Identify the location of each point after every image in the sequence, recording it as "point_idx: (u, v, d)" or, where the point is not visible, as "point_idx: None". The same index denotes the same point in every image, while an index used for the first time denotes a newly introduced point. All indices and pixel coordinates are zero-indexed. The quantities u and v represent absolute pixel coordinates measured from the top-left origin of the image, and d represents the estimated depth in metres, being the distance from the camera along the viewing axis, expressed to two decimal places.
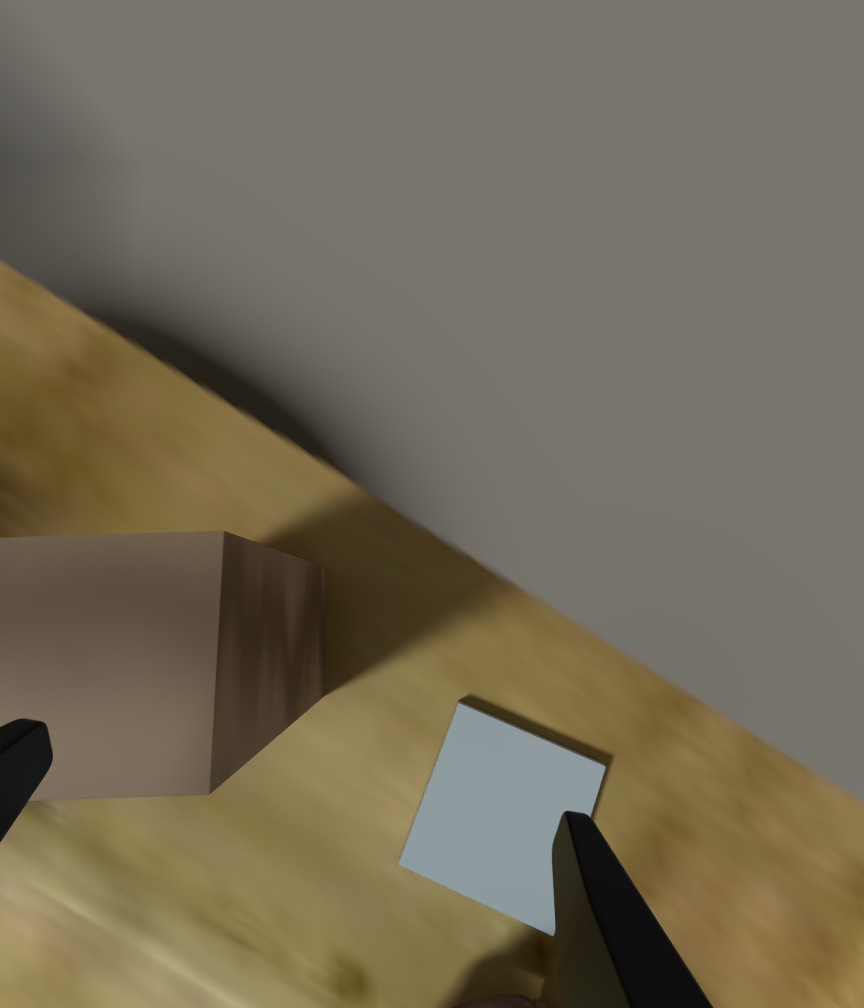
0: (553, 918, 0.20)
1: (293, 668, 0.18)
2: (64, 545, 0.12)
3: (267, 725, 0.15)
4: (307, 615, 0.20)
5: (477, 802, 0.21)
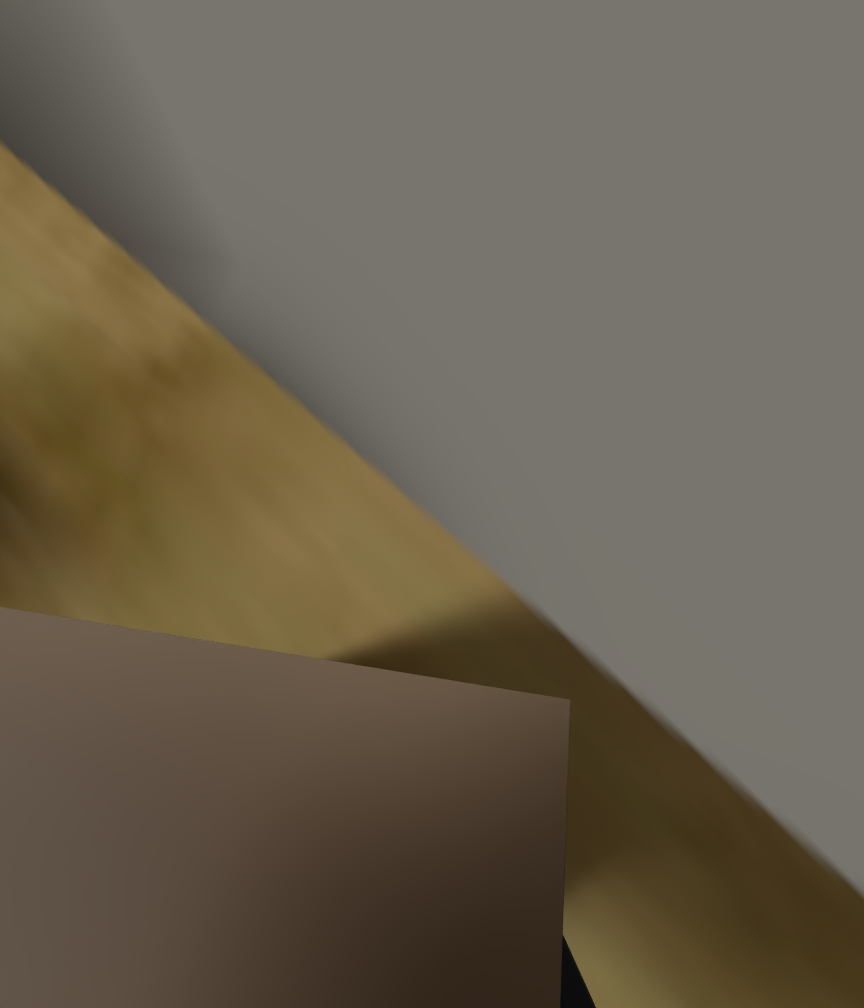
0: None
1: None
2: (90, 653, 0.04)
3: None
4: None
5: None
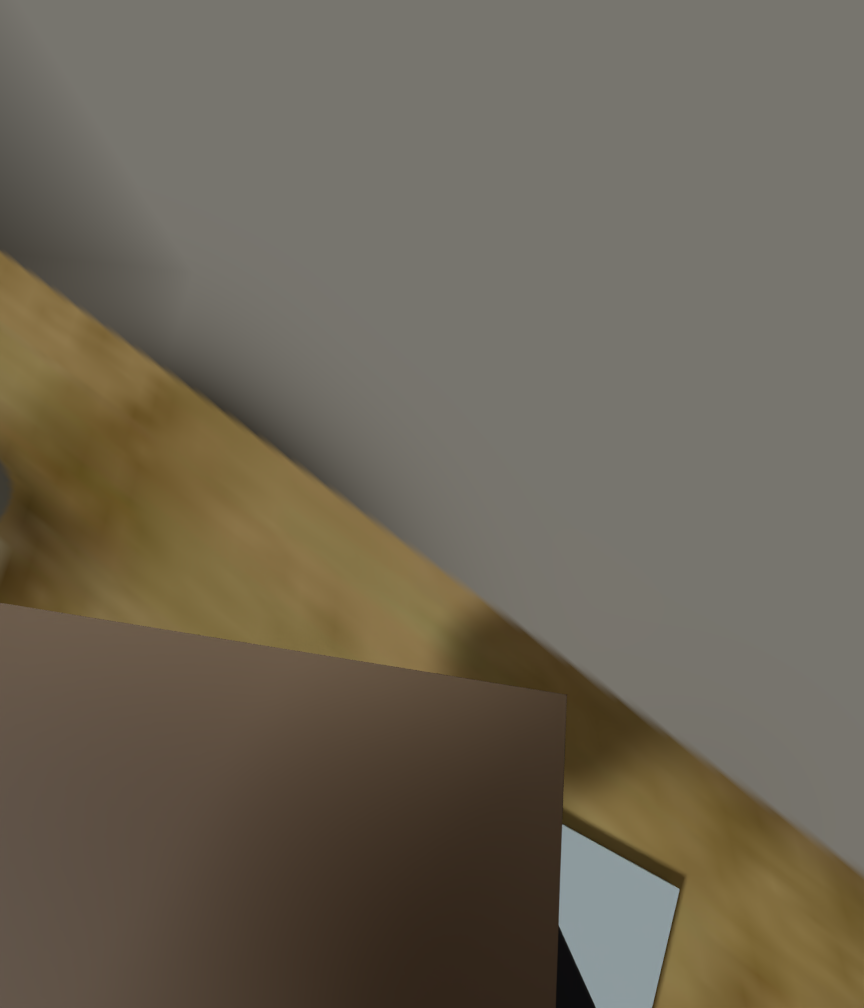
0: None
1: None
2: (88, 648, 0.04)
3: None
4: None
5: None
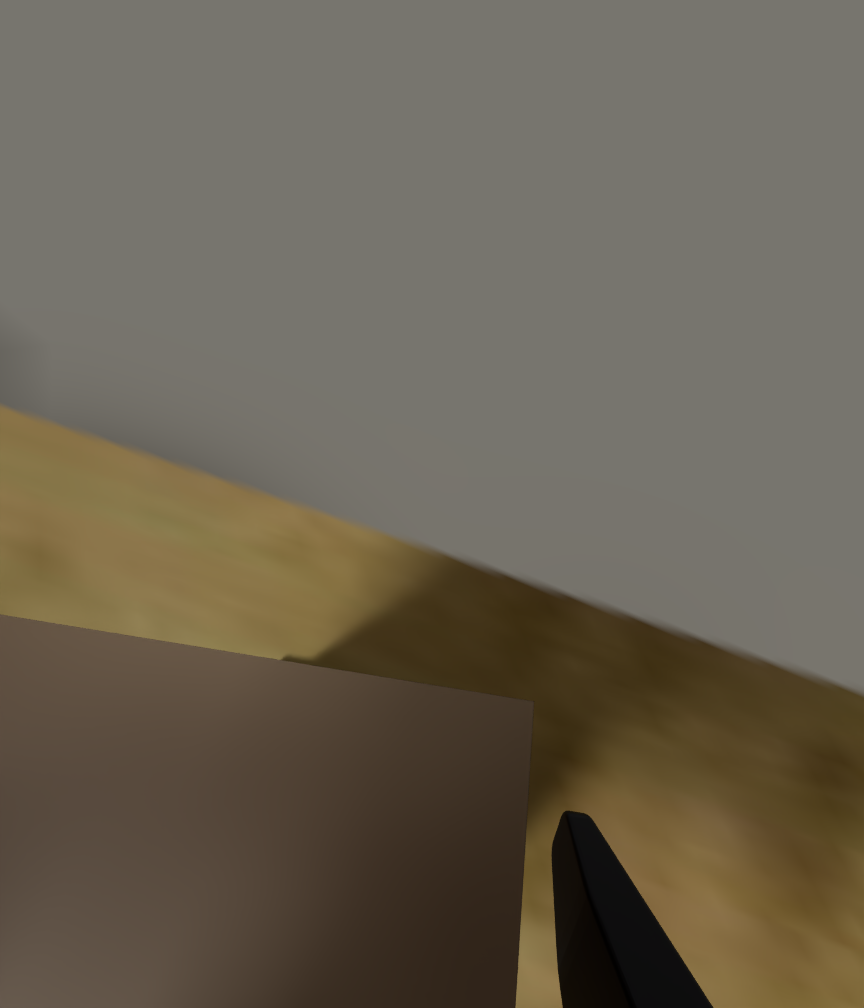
0: None
1: None
2: (167, 665, 0.05)
3: None
4: None
5: None
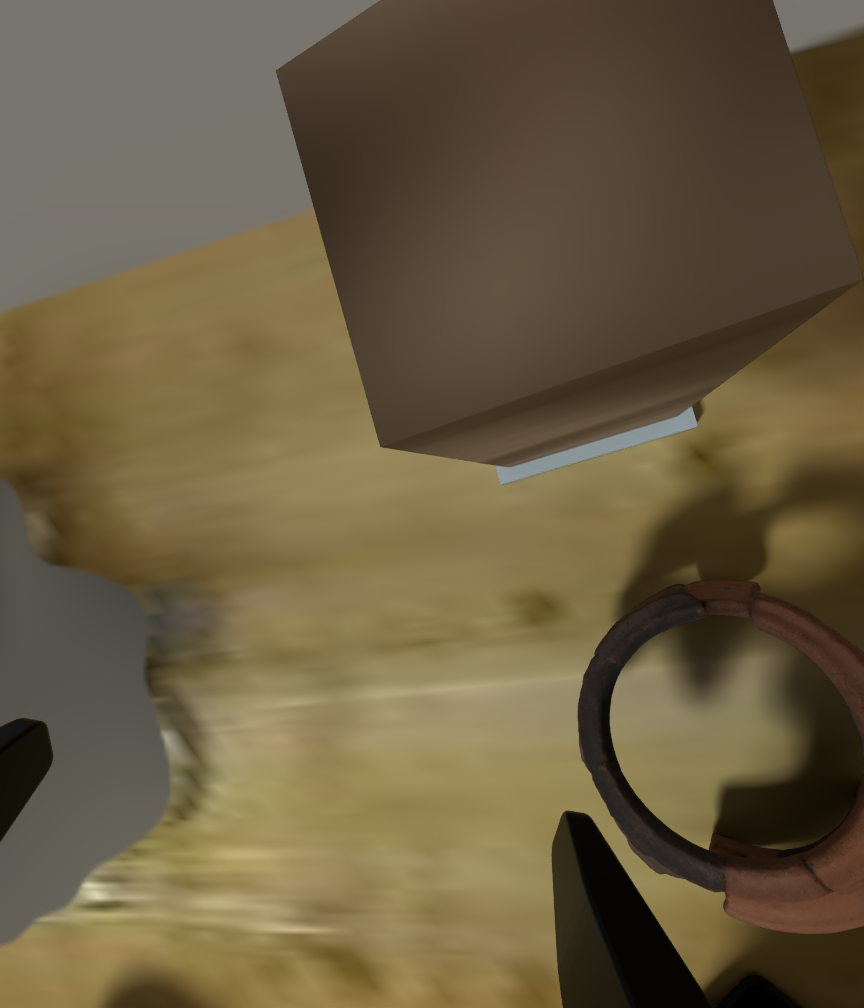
0: (686, 411, 0.17)
1: None
2: (400, 6, 0.07)
3: None
4: None
5: None
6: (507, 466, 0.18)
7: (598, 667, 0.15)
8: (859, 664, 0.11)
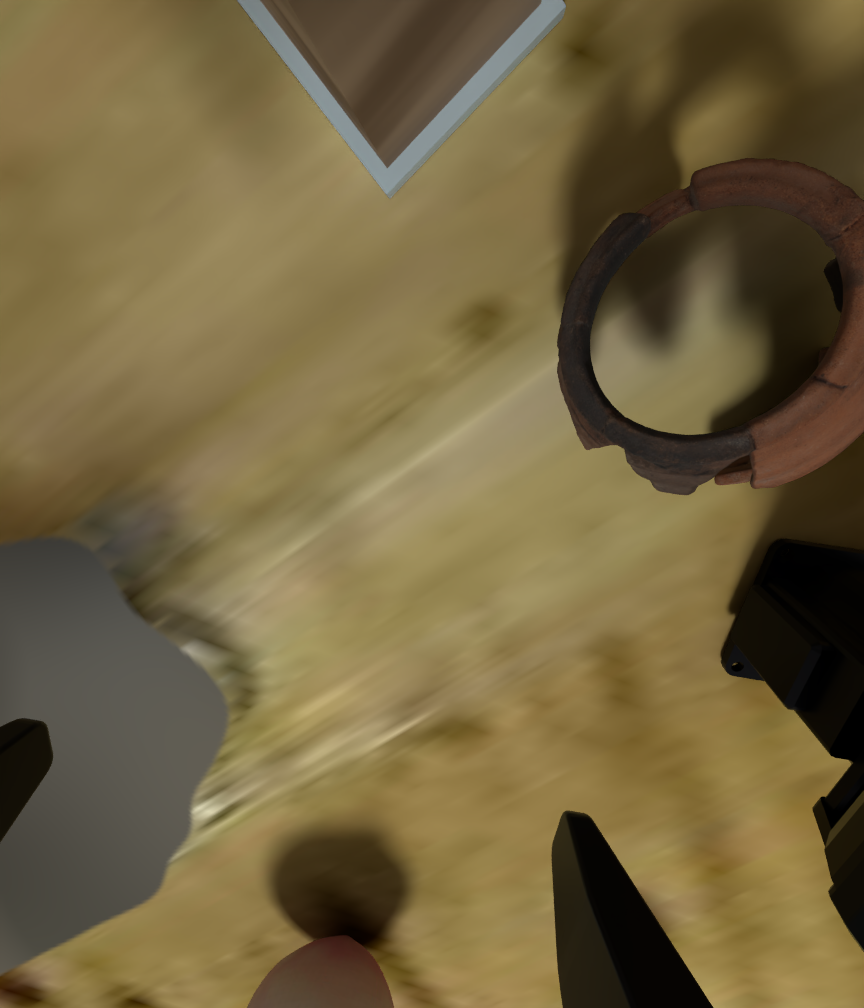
0: None
1: None
2: None
3: None
4: None
5: None
6: (383, 158, 0.15)
7: (569, 337, 0.14)
8: (811, 172, 0.11)
